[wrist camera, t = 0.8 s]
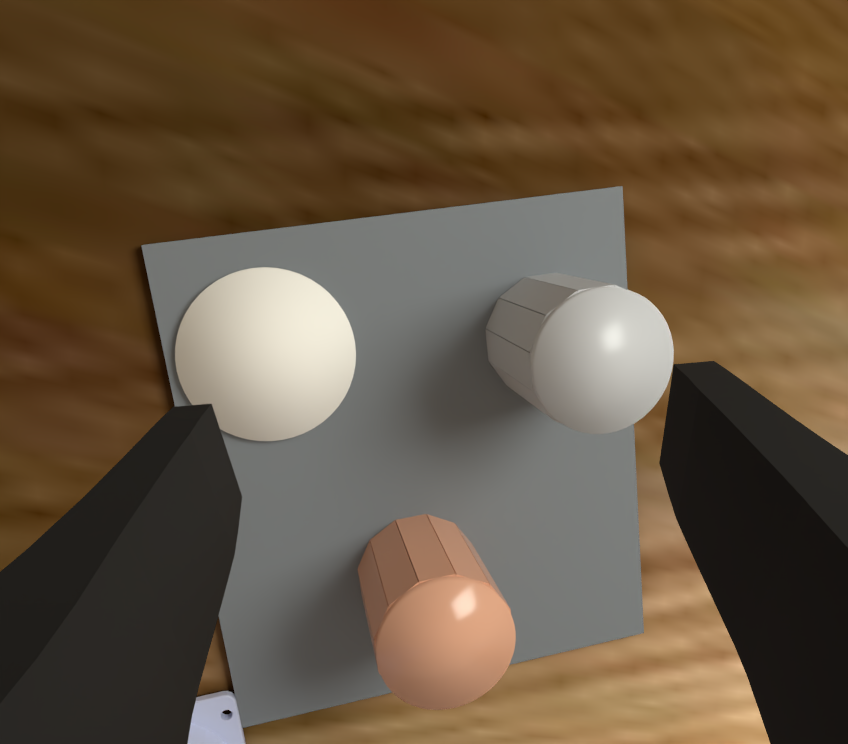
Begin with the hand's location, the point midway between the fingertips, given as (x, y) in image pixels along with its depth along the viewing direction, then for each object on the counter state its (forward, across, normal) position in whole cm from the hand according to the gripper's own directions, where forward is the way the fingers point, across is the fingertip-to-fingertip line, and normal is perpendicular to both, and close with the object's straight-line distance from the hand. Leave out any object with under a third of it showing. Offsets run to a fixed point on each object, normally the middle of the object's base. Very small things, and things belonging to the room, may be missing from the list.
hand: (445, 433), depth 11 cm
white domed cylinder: (+18, -5, +10) cm, 21 cm away
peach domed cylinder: (+13, +2, +19) cm, 23 cm away
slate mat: (+15, +1, +14) cm, 21 cm away
